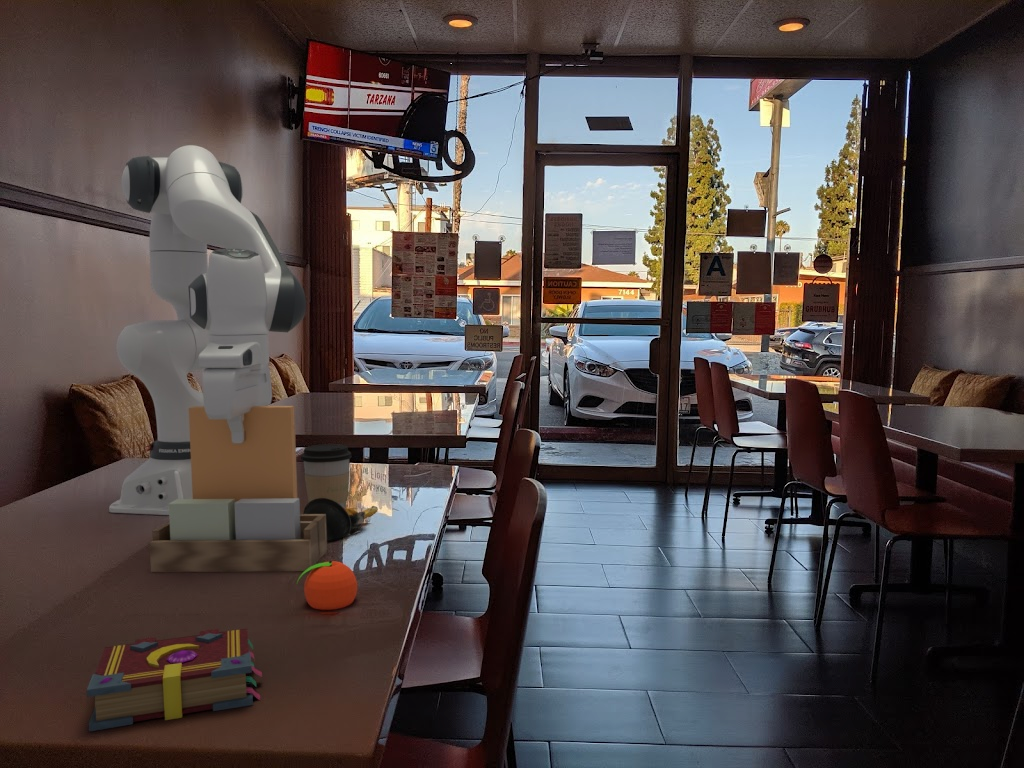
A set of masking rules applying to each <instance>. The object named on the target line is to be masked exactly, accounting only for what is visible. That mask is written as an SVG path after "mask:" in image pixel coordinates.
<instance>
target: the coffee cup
mask: <svg viewBox="0 0 1024 768" xmlns="http://www.w3.org/2000/svg"><path fill="white" fill-rule="evenodd" d="M352 456H353V455H352V452H351V451H350V450H349V448H348V446H347V445H345V444H340V443H325V444H323V443H322V444H316V445H315V444H314V445H313V444H312V445H309V446H305V447H304V448H303V453H302V454H300V458H299V459H300V461H302V462H303V467H304V482H305V487H306V488H305V489H306V494H307V502H308V503H309V502H310V501H312V500H314V499H318V498H327V499H331V500H333V501H335V502H337V503H339V504H340V505H341V506H342V507H344V508H347V503H348V502H347V501H348V500H349V499H348V498H349V497H348V495H349V486H350V485H349V482H350V481H349V480H350V469H349V468H350V459H351V458H353V457H352ZM308 503H307V504H308Z"/></svg>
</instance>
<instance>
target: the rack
mask: <svg viewBox="0 0 1024 768" xmlns="http://www.w3.org/2000/svg"><path fill="white" fill-rule="evenodd" d="M300 531H301V539H292V540H170V521H169V520H168V521H166V522H164V523H163V524H162V525H159V526H158V527H156V528H155V529H153V530H151V537H152V540H150V542H149V557H150V559H149V560H150V562H149V563H150V572H151V573H183V572H184V573H192V572H193V573H194V572H196V573H197V572H200V573H203V572H206V573H207V572H208V573H209V572H227V573H228V572H230V573H231V572H304V571H305V570H307V569H308V568H309V567H311V566H313V565H316V564H318V562H319V561H320V560H321V558H322V557H323V556H324V555H325V554H326V553H327V552H328V542H327V531H326V514H303V513H300Z"/></svg>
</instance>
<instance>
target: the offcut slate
mask: <svg viewBox="0 0 1024 768" xmlns="http://www.w3.org/2000/svg"><path fill="white" fill-rule="evenodd" d="M300 505H301V503H300V498H299V497H297V498H269V499H240V500H239V501H237V502H236V503H234V506H235V529H236V540H292V539H301V531H300V514H301V510H300V508H301V507H300Z"/></svg>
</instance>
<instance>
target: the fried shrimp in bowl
mask: <svg viewBox="0 0 1024 768" xmlns="http://www.w3.org/2000/svg"><path fill="white" fill-rule="evenodd" d="M378 510H379V508H378V507H377V506H375V505H372V506H371V507H368V508H366V509H364V510H362V511H359V512H358V511H357V510H356V509H354V507H353V508H352V507H351V508H350V507H349V508H348V507H346V508H344V507H342V506H341V505H340V504H339V503H337V502H335V501H333V500H331V499H327V498H318V499H314V500H312V501H310V502H309V503H307V504H306V505H305V506H304V509H303V513H302V514H326V531H327V543H329V542H334V541H337V540H339V539H342V538H343V537H347V536H353V535H355V534H356V533H361V530H360V528H361V526H362V525H363V524H364V522H365V519H367V518H371V517H373V516H374V515H375V514H376V513H377V512H378Z"/></svg>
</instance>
